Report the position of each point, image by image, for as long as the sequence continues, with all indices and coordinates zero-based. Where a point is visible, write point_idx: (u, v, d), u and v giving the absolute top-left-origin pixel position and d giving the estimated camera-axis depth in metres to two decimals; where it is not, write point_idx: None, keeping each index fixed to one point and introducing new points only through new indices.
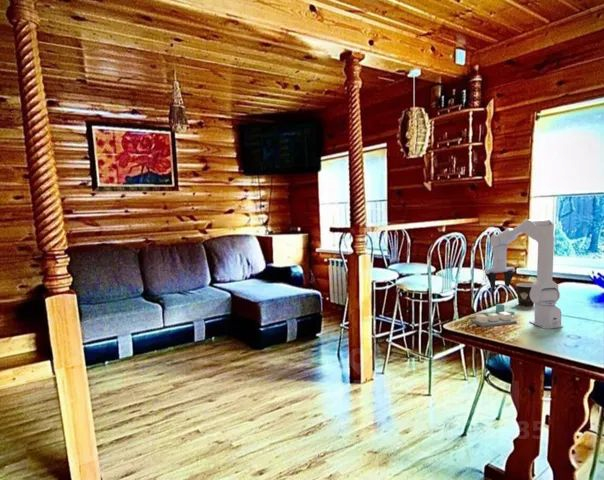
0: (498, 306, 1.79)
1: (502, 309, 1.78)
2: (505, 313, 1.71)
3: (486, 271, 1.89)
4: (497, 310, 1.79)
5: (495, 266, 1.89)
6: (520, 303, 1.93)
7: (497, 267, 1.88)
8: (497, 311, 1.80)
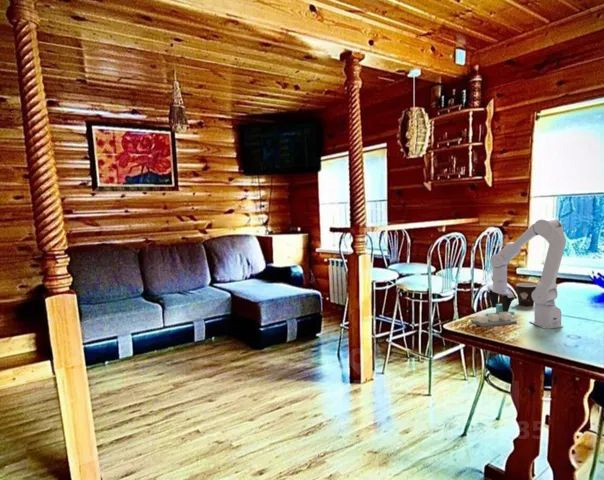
0: (498, 306, 1.79)
1: (502, 309, 1.78)
2: (505, 313, 1.71)
3: None
4: (497, 310, 1.79)
5: None
6: (520, 303, 1.93)
7: None
8: (497, 311, 1.80)
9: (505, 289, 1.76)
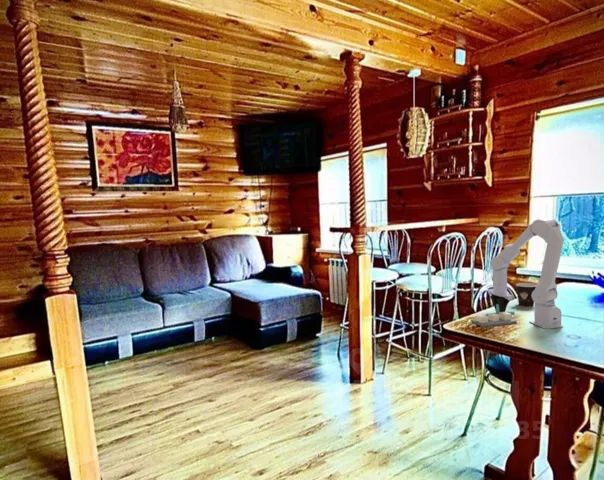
0: (498, 306, 1.79)
1: None
2: (505, 313, 1.71)
3: None
4: (497, 310, 1.79)
5: None
6: (520, 303, 1.93)
7: None
8: (497, 311, 1.80)
9: (505, 292, 1.76)
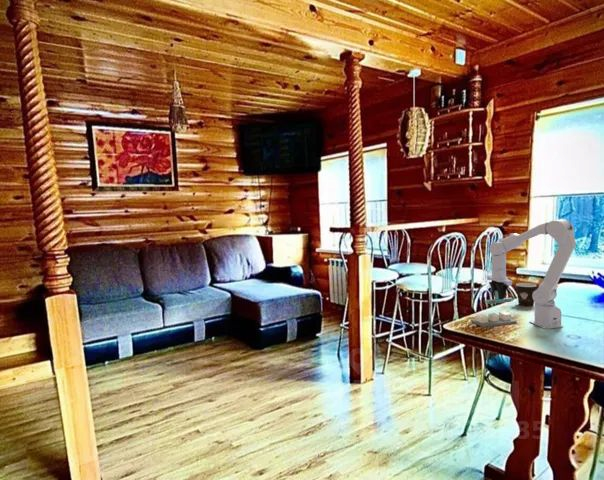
0: (497, 292, 1.77)
1: None
2: (505, 313, 1.71)
3: None
4: (496, 296, 1.77)
5: None
6: (520, 303, 1.93)
7: None
8: (496, 298, 1.78)
9: (504, 277, 1.74)
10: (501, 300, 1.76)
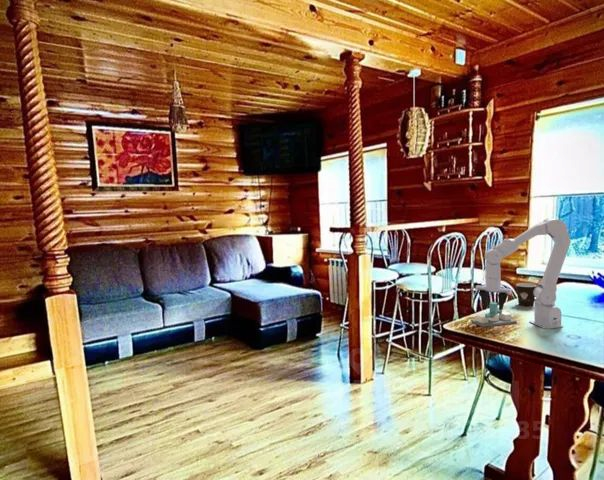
0: (493, 305, 1.69)
1: (496, 307, 1.69)
2: (505, 313, 1.71)
3: None
4: (492, 309, 1.69)
5: None
6: (520, 303, 1.93)
7: (486, 285, 1.70)
8: (491, 310, 1.69)
9: (500, 286, 1.68)
10: (496, 312, 1.69)
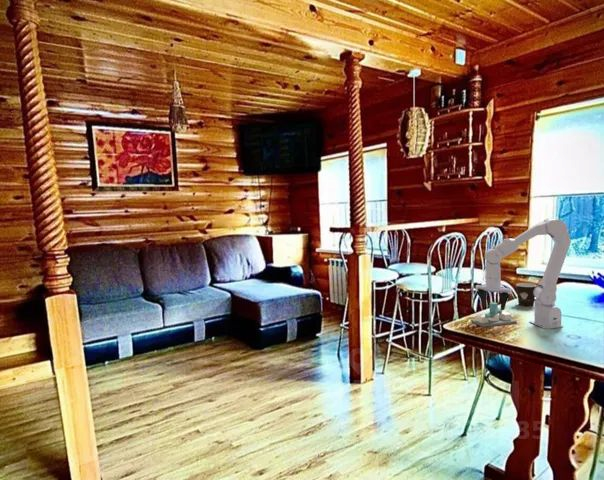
0: (493, 305, 1.69)
1: (496, 307, 1.69)
2: (505, 313, 1.71)
3: None
4: (492, 309, 1.69)
5: None
6: (520, 303, 1.93)
7: (486, 285, 1.70)
8: (491, 310, 1.69)
9: (500, 286, 1.67)
10: (496, 312, 1.69)
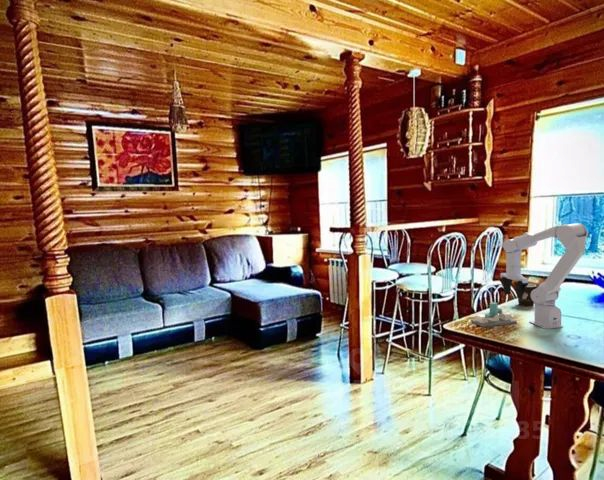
0: (493, 305, 1.69)
1: (496, 307, 1.69)
2: (505, 313, 1.71)
3: None
4: (492, 309, 1.69)
5: None
6: (520, 303, 1.93)
7: None
8: (491, 310, 1.69)
9: (519, 275, 1.73)
10: (496, 312, 1.69)
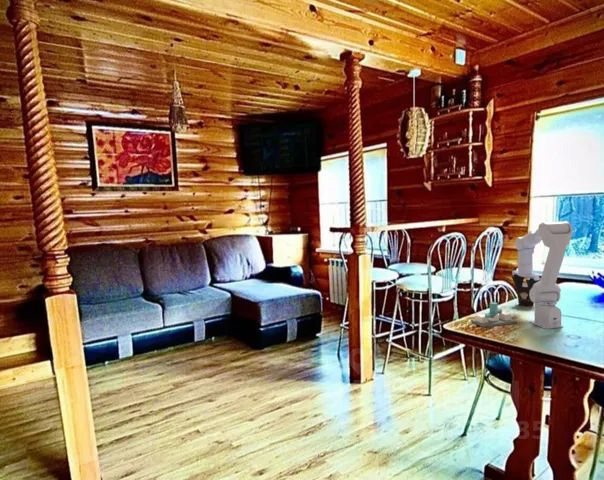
0: (493, 305, 1.69)
1: (496, 307, 1.69)
2: (505, 313, 1.71)
3: None
4: (492, 309, 1.69)
5: None
6: (520, 303, 1.93)
7: None
8: (491, 310, 1.69)
9: (531, 272, 1.76)
10: (496, 312, 1.69)
